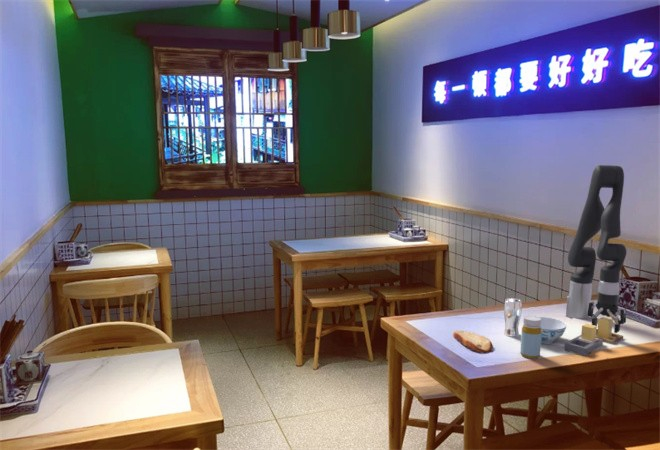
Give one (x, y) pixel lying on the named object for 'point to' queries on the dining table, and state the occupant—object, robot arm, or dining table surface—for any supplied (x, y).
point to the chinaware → (551, 329)
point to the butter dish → (584, 341)
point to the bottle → (531, 337)
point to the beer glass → (512, 316)
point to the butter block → (605, 328)
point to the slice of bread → (473, 341)
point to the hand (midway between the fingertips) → (605, 329)
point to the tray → (613, 338)
